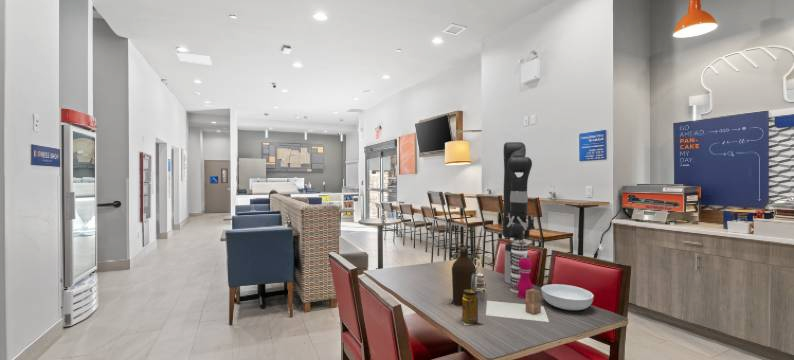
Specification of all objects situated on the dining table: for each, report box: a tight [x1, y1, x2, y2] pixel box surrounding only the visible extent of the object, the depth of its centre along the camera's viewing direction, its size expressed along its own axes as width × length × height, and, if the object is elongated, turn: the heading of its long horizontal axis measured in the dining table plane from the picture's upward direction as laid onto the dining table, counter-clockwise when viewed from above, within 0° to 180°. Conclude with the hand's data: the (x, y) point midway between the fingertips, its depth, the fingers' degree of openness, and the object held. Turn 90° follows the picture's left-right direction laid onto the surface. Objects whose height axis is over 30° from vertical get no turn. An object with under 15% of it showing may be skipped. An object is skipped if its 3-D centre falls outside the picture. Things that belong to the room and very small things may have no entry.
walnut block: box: [525, 288, 542, 315], centre depth 151 cm, size 4×5×9 cm
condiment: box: [460, 289, 483, 326], centre depth 142 cm, size 7×8×12 cm
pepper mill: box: [517, 255, 534, 300], centre depth 171 cm, size 7×7×20 cm
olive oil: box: [451, 246, 477, 307], centre depth 162 cm, size 11×11×25 cm
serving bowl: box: [540, 283, 595, 311], centre depth 160 cm, size 21×21×7 cm
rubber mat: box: [485, 300, 550, 323], centre depth 153 cm, size 18×24×1 cm
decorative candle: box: [509, 239, 530, 294], centre depth 181 cm, size 9×9×25 cm
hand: (518, 236), depth 164 cm, fingers open, 8 cm apart
